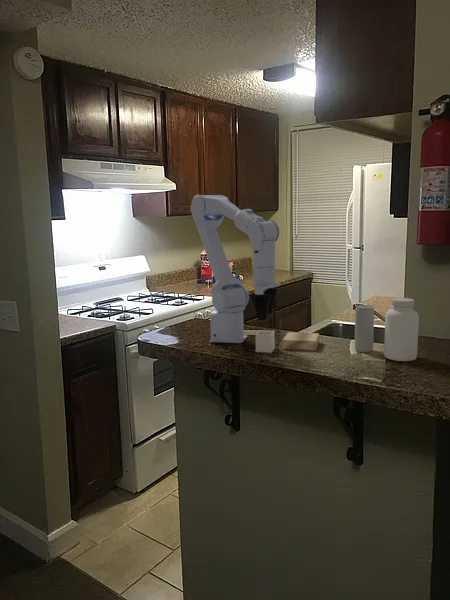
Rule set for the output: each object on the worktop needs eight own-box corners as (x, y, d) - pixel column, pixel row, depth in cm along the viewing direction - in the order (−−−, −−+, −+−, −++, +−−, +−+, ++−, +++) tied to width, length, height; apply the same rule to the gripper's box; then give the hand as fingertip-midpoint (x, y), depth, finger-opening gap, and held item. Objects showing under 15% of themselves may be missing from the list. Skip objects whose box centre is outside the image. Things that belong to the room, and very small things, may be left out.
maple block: (282, 350, 140) (282, 339, 139) (287, 342, 148) (287, 332, 148) (315, 351, 137) (315, 341, 137) (318, 343, 146) (319, 333, 145)
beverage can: (369, 354, 132) (370, 308, 130) (351, 351, 135) (352, 307, 133) (375, 349, 136) (377, 305, 134) (358, 347, 139) (359, 304, 137)
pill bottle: (423, 360, 125) (425, 301, 123) (393, 363, 124) (395, 302, 122) (407, 352, 133) (409, 295, 131) (378, 354, 132) (379, 297, 129)
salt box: (255, 352, 138) (255, 333, 137) (259, 347, 142) (258, 329, 141) (271, 352, 136) (271, 333, 135) (274, 348, 140) (274, 330, 140)
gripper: (274, 270, 127) (274, 323, 129) (283, 264, 141) (283, 312, 143) (246, 270, 129) (247, 322, 131) (258, 264, 143) (259, 311, 145)
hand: (264, 316), depth 137 cm, fingers open, 7 cm apart
